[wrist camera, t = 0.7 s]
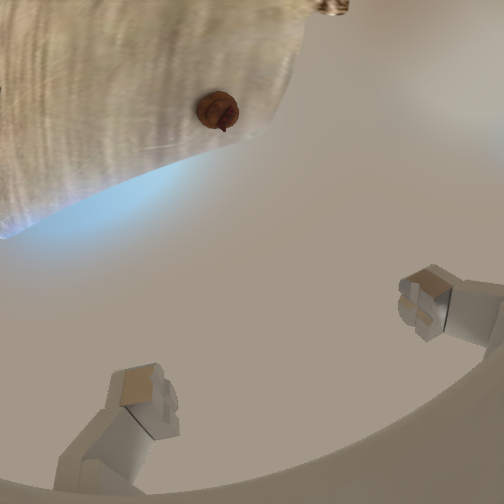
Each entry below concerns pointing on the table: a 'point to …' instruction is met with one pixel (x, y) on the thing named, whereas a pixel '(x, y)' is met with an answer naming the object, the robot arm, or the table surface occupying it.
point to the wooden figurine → (218, 111)
